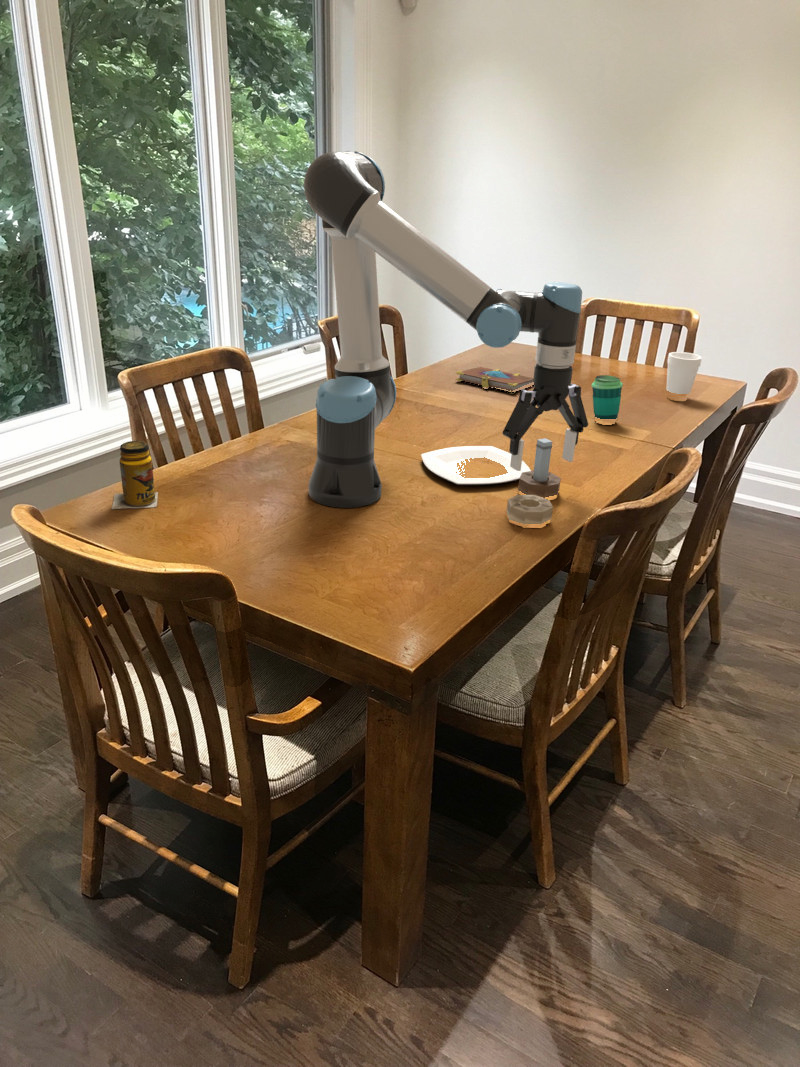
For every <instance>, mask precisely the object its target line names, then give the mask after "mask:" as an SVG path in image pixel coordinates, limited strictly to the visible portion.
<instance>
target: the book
mask: <svg viewBox="0 0 800 1067" xmlns="http://www.w3.org/2000/svg"><path fill="white" fill-rule="evenodd" d="M455 374H457V375H458V376H459V377H457V378H455V379H454V380H455V381H456V380H459V381H458V382H461V381H465V382H464V383H466V382H470V383H469V384H471V383H474V384H473V385H475V384H479V385H482V386H481V387H482V388H483V387H486V388H489V387H493V388H495V387H496V388H501V389H506V390H508V391H510V390H511V392H512V391H513V390H515V389H518V388H520V387H522V386H524V385H527V384H529V383H532V382H534V380H533V378H534V377H530V376H525V375H521V373H519V372H518V373H511V372H507V371H502V370H501V369H500V368H497V369H493V368H488V367H484V366H479V367H475V368H474V367H473V368H470V369H466V370H458V371H455ZM479 385H478V386H479ZM493 388H492V389H493ZM489 389H490V388H489Z"/></svg>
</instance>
